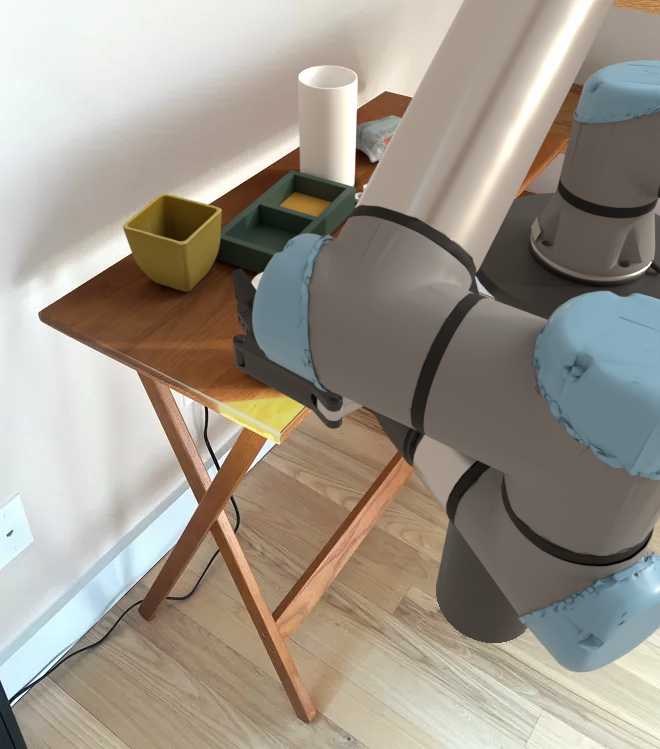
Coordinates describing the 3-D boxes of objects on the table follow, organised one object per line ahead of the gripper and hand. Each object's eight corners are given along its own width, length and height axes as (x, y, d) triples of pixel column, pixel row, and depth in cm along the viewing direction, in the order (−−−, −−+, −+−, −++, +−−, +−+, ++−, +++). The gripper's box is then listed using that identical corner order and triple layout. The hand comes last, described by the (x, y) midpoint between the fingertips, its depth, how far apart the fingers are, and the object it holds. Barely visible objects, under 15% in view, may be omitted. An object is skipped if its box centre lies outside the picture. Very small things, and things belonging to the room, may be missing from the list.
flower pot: (230, 268, 93) (223, 207, 87) (194, 306, 88) (184, 243, 81) (172, 252, 96) (162, 191, 90) (134, 288, 90) (120, 226, 84)
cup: (315, 164, 114) (314, 61, 103) (363, 176, 111) (367, 71, 100) (290, 188, 108) (287, 81, 97) (340, 201, 106) (341, 93, 95)
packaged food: (431, 153, 116) (434, 124, 113) (371, 173, 112) (373, 143, 108) (398, 134, 122) (400, 105, 118) (340, 152, 117) (340, 122, 114)
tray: (355, 209, 104) (355, 187, 102) (284, 281, 91) (282, 258, 89) (292, 191, 108) (291, 169, 105) (215, 259, 95) (212, 235, 92)
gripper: (281, 540, 45) (176, 339, 58) (593, 411, 53) (436, 261, 66) (276, 463, 39) (162, 262, 53) (623, 333, 48) (446, 188, 61)
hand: (314, 261), depth 60 cm, fingers open, 13 cm apart
